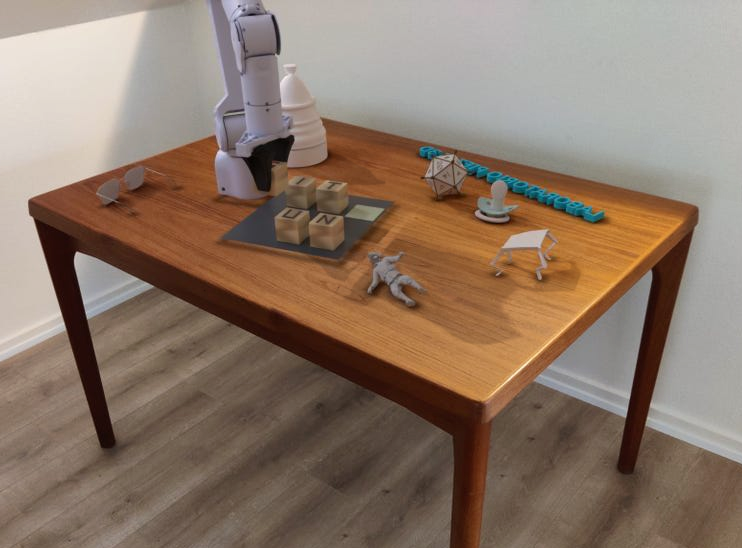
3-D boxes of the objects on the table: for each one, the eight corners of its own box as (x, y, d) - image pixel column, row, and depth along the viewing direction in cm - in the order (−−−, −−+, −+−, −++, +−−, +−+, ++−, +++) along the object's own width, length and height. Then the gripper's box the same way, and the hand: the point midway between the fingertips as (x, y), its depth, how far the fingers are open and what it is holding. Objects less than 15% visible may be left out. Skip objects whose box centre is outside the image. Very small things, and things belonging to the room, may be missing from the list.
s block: (254, 192, 120) (251, 167, 117) (267, 183, 123) (264, 158, 120) (276, 196, 118) (274, 171, 116) (289, 187, 121) (286, 162, 119)
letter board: (220, 243, 123) (215, 214, 120) (288, 190, 141) (285, 163, 138) (338, 265, 116) (337, 235, 113) (394, 206, 134) (394, 179, 130)
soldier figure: (392, 319, 104) (343, 267, 109) (406, 327, 108) (358, 276, 114) (429, 279, 103) (377, 228, 108) (442, 288, 107) (391, 238, 112)
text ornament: (603, 217, 127) (604, 211, 127) (593, 222, 126) (594, 216, 125) (427, 151, 156) (427, 145, 156) (417, 154, 155) (417, 149, 154)
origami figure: (535, 290, 108) (538, 261, 105) (485, 274, 112) (488, 245, 109) (571, 259, 115) (575, 231, 113) (523, 245, 120) (526, 217, 117)
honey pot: (267, 147, 161) (257, 61, 150) (325, 144, 162) (320, 58, 151) (266, 169, 150) (257, 78, 140) (329, 165, 151) (324, 74, 141)
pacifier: (504, 228, 125) (520, 215, 129) (507, 194, 122) (523, 181, 125) (467, 218, 129) (484, 205, 133) (468, 185, 125) (486, 173, 129)
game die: (452, 217, 138) (468, 188, 129) (410, 199, 138) (423, 169, 128) (466, 180, 141) (483, 149, 132) (425, 162, 141) (439, 130, 132)
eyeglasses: (146, 181, 146) (144, 162, 144) (179, 190, 144) (177, 171, 141) (98, 208, 136) (94, 188, 133) (132, 218, 133) (129, 198, 131)
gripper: (260, 117, 105) (270, 205, 113) (307, 90, 116) (313, 172, 124) (219, 112, 108) (231, 199, 116) (268, 86, 119) (276, 167, 126)
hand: (271, 185), depth 120 cm, fingers closed on s block, 4 cm apart
